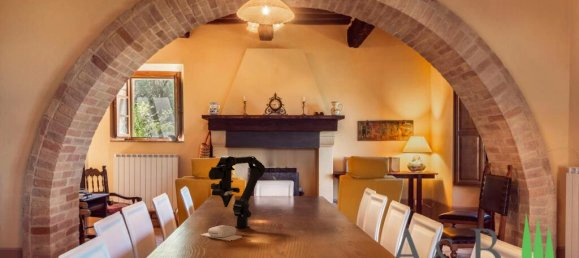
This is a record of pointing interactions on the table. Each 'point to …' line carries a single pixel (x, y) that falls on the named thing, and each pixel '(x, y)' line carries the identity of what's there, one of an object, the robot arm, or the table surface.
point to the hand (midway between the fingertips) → (225, 207)
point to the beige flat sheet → (231, 237)
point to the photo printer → (222, 231)
